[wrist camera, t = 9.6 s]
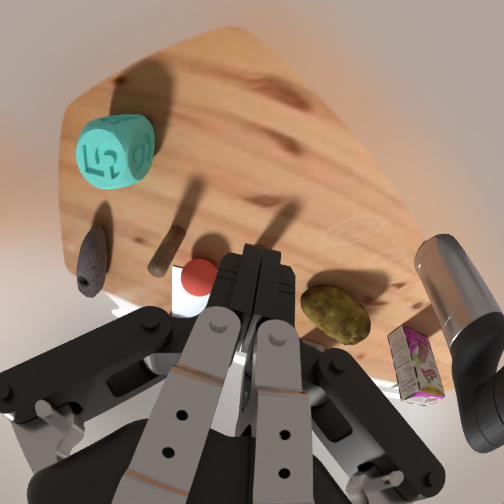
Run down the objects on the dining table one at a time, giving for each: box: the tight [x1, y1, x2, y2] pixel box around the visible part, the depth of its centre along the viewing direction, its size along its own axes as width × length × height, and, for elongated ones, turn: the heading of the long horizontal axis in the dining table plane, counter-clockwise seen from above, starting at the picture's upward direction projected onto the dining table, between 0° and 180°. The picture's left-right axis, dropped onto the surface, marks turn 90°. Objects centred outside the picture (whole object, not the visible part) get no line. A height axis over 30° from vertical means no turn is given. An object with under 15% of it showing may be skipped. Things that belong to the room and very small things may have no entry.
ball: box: [180, 259, 217, 297], centre depth 43 cm, size 6×6×6 cm
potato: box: [301, 286, 371, 345], centre depth 44 cm, size 8×13×8 cm, turn 47°
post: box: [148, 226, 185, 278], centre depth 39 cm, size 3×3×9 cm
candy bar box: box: [387, 325, 445, 406], centre depth 46 cm, size 11×5×16 cm, turn 62°
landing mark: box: [172, 266, 210, 318], centre depth 51 cm, size 14×14×1 cm
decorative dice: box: [76, 114, 155, 189], centre depth 31 cm, size 8×8×8 cm
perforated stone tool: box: [77, 225, 107, 298], centre depth 44 cm, size 15×5×7 cm, turn 154°
